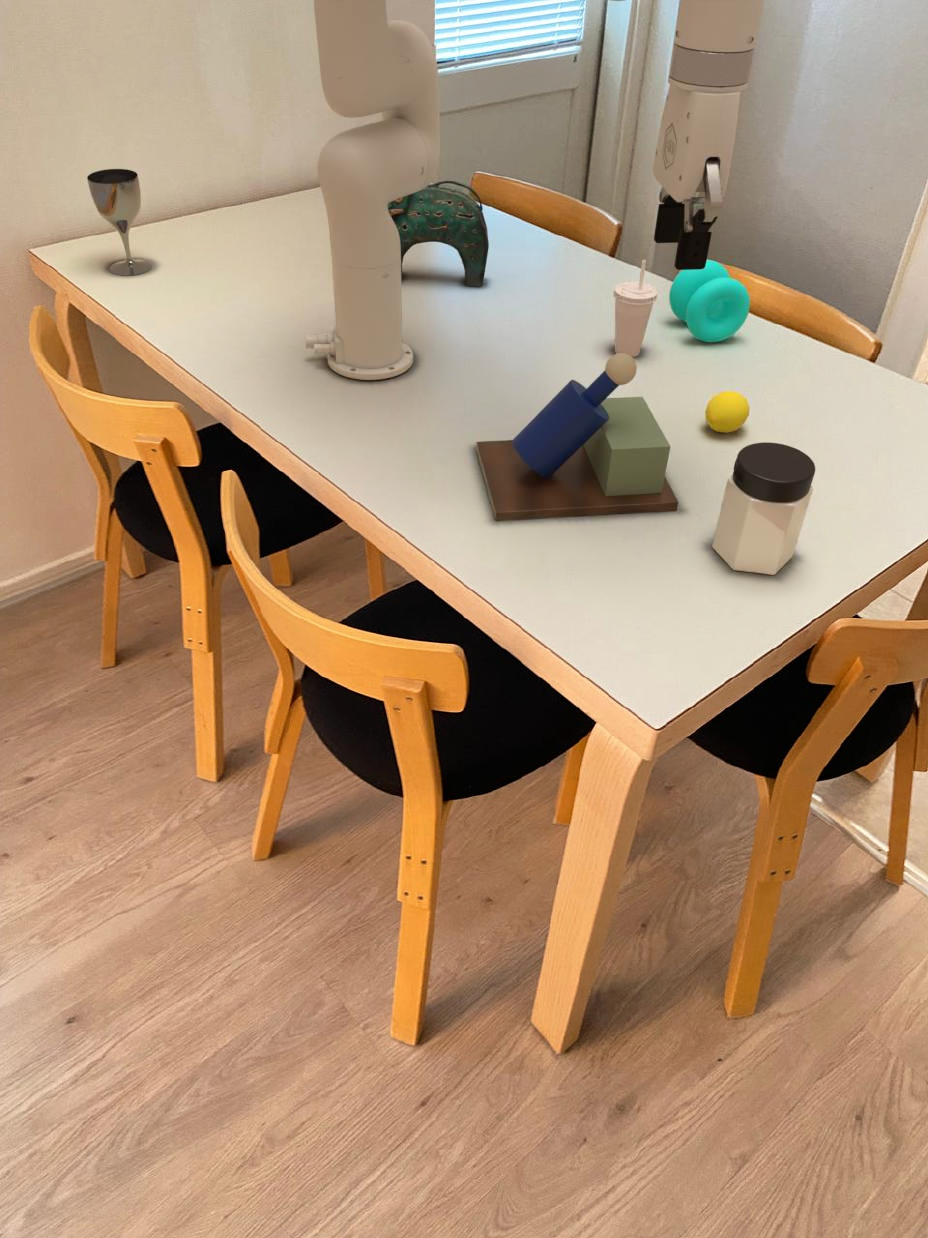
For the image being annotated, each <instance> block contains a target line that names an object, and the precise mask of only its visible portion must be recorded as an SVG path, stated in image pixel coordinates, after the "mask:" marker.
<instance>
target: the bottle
mask: <svg viewBox="0 0 928 1238" xmlns="http://www.w3.org/2000/svg"><path fill="white" fill-rule="evenodd" d="M637 370H638V367H637V362H636V360H635V359H634V357H631V356H630V355H628V354H626V353H617V354H616V353H614V354H612V355H611V356H610V357H609V358H608V360H607V361H606V363H605V366H604V371H602V373H600V375H598V376H597V377H596V379H595V380H593V381H592V382H591V384H589V385H588V386H587V387H585V386H584V385H583V384H582V383H580V382H579V381H577V380H574V379H570V380H569V382H568V383H566V385H564V387H563V388H561V390H559V392H558V393H557V394H556V395H555V396H554V397H553V398H552V399H551V400H550V401H549V402H548V403H547V404H546V405H545V406H544V407H543V408H542V409H541V410H540V411H539V412H538V413H537V414H536V416H534V418H532V419H531V421H529V423H528V424H527V425H526V426H524V428H522V429H521V430H520V432H518V434H516V436H515V437H514V438H513V439H512V440H513V446H514V448H515V450H516V451H517V453H518V454H519V455H520V457H521V458H522V459H523V460H524V461H525V462H526V464H527V465H529V466H530V467H531V468H532V469H533V470H534V471H536V472H537V473H538V474H540V475H542V476H544V477H546V478H549V477H551V476H552V475H553V474H554V473H555V472H556V471H557V470H558V469H559V468H560V467H561V466H562V465H563V464H564V463H565V462H566V461H567V460H568V459H569V458H570V457H571V456H572V455H573V454H574V453H575V452H576V451H577V450H578V449H579V448H580V447H581V446H582V445H583V444H584V443H585V442H586V441H588V440H589V439H590V438H591V437H592V436H593V435H594V434H595V433H596V432H597V431H598V430H599V429H600V428H601V427H602V426H603V425H604V424H605V423H606V422H607V421H608V420H609V415H608V413H607V411H606V410H605V408H604V407H603V406H602V404H601V403H602V402H603V401H604V400H605V399H606V398H609V397H610V395H611V394H612V393H613V392H614V391H615V390H616V389H617V388H618V387H619V386H625V385H627V384H629V383H631V382H632V381H633V380H634V378H635V376H636V374H637Z"/></svg>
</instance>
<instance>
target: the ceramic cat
mask: <svg viewBox="0 0 928 1238" xmlns="http://www.w3.org/2000/svg"><path fill="white" fill-rule="evenodd" d="M446 184H451V185H456V186H458V187H462V188H465V189H467V190H469V191H470V192H471V193H472V194H473V195H474V196H475V197H476V199H477V200H478V201H476V199H475V198H474V197H473V196H472V195H470V194H469V193H468V192H467V191H465V190H463V189H461V188H458V187H455V186H451V185H446ZM483 210H484V208H483V204H482V200H481V198H480V196H479V194H478V193H477V192H476V190H475V189H474V188H473V187H472V186H470V185H467V184H466V183H464V182H460V181H456V180H442V181H438V182H435V183H430V184H429V185H428V186H427V187H425V188H424V189H422V190H420V191H418V192H415V193H413V194H410V195H407V196H404V197H401V198H398V199H396V200H394V201H392V202H389V203H388V211H389V213H390V216H391V218H392V219H393V221H394V223H395V225H396V227H397V230H398V232H399V237H400V245H401V276H402V274H403V262H404V258H405V255H406V254H407V253H408V252H409V250H410V249H411V248H412V247H413V246H414V245H419V244H423V243H441V244H444V245H447V246H450V247H451V248H453V249H454V250H456V251H457V253H458V255H459V258H460V259H461V264H462V265H463V266H462V267H463V270H464V284H465V286H467V287H475V288H476V287H478V288H479V287H483V284H484V279H485V273H486V266H487V260H488V254H489V249H490V247H489V246H490V243H489V242H490V241H489V233H488V226H487V223H486V219H485V215H484V212H483Z"/></svg>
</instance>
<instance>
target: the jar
mask: <svg viewBox="0 0 928 1238" xmlns="http://www.w3.org/2000/svg"><path fill="white" fill-rule="evenodd" d="M733 464H734V465H733V472H732V474H731V475H730V476H729V477H728V478H727V481H726V485H725V489H724V490H725V491H724V494H723V499H722V502H721V506H720V510H719V514H718V519H717V524H716V526H715V531H714V537H713V540H712V545H711V547H712V549H713V550H714V551H715V552H716V554H718V555H719V557H720V558H721V559H722V560H723V561H724V562H725V563H726V564H727V565H728V566H729V567H730V568H731V569H732V570H733V571H740V572H746V573H754V574H755V573H756V574H763V575H771V576H774V575H776V574H777V573H778V572H779V571H780V570H781V569H782V568H783V567H784V566H785V565H786V564H787V563H788V562H789V561H790V560H791V559H792V557H793V556H794V553H795V550H796V546H797V543H798V540H799V537H800V534H801V530H802V527H803V524H804V521H805V517H806V514H807V511H808V508H809V504H810V502H811V497H812V495H813V491H814V487H813V486H812V484H813V480H814V477H815V474H816V465H815V462H814V461H813V459H812V458H811V457H810V456H809V455H808V454H806V453H805V452H803V451H801V450H799V449H798V448H795V447H793V446H790V445H787V444H783V443H777V442H769V441H768V442H766V441H765V442H764V441H763V442H756V443H752V444H748V445H746V446H744V447H743V448H741V449H740V450H739V451H738V453H737V455H736V458H735V460H734V463H733Z"/></svg>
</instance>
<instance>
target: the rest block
mask: <svg viewBox="0 0 928 1238" xmlns="http://www.w3.org/2000/svg"><path fill="white" fill-rule="evenodd" d="M601 404H602V406H603V407H604V408H605V410H606V411H607V413H608V415H609V420H608V421H607V422H606V423H605V424H604V425H603V426H602V427H601V428H600V429H599V430H598V431H597V432H596V433H595V434H594V435H593V436H592V437H591V438H590V439H589V440H588V441H586V442H585V443H584V444H583V446H584V448H585V450H586V453H587V455H588V457H589V460H590V462H591V464H592V467H593V469H594V471H595V474H596V476H597V478H598V480H599V483H600V485H601V487H602V490H603V492H604V494H605V496H620V495H638V494H656V493H662V489H663V484H664V478H666V472H667V468H668V467H667V466H668V463H669V457H670V453H671V445H670V443H669V441H668V439H667V438H666V435H665V434H664V432H663V430H662V428H661V427H660V425H659V422H657V420H656V418H655V416H654V414H653V412H652V411H651V408H650V407H649V404H647V402H646V400H645V398H644V397H643V396H629V397H628V396H627V397H625V396H623V397H607V398H606V399H605V400H604V401H603V402H602V403H601Z"/></svg>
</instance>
